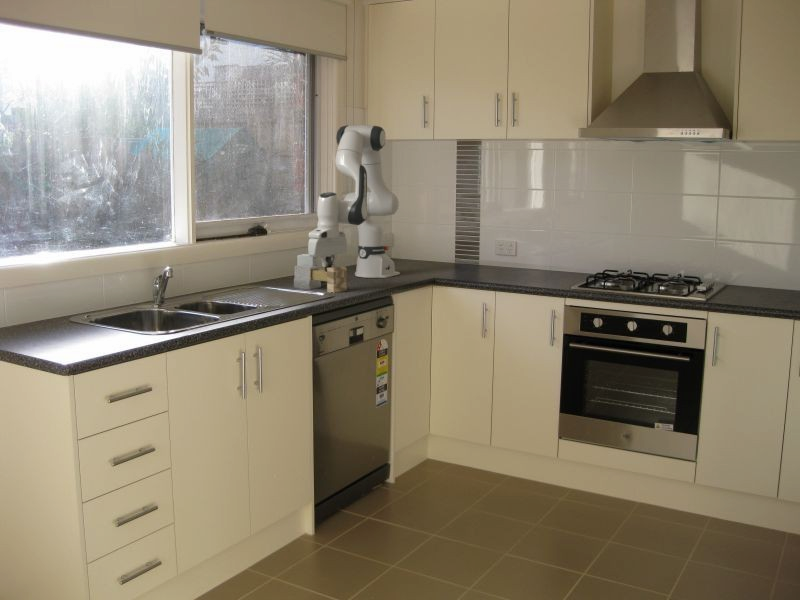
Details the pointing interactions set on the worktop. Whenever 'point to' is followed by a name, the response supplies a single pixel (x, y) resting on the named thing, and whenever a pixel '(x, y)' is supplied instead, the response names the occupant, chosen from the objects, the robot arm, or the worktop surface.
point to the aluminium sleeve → (305, 277)
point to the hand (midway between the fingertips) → (328, 266)
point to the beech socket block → (337, 279)
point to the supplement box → (307, 260)
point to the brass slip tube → (321, 271)
